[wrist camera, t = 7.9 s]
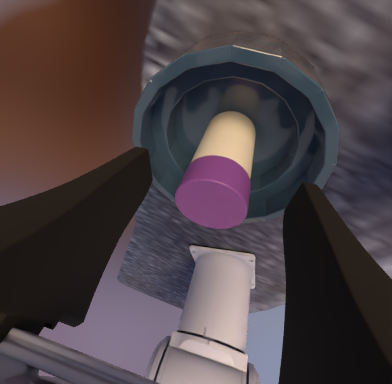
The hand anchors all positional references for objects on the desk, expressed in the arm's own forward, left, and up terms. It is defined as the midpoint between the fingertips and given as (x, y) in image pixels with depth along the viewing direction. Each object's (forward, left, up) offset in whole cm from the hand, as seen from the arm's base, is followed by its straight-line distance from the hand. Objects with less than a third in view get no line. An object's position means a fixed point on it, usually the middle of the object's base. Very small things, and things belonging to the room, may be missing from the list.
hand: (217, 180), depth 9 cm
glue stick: (0, 0, -4) cm, 4 cm away
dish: (0, 0, -5) cm, 5 cm away
